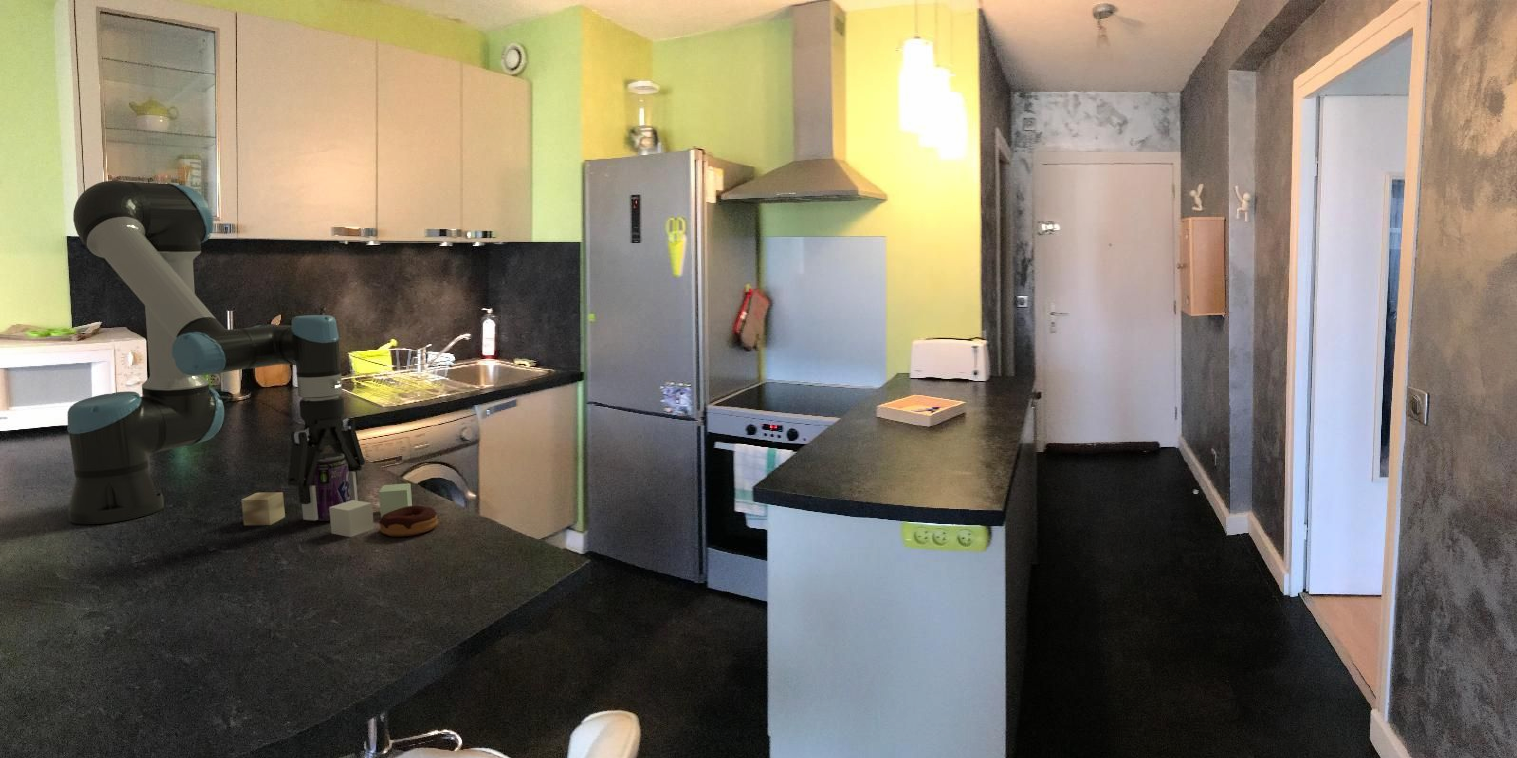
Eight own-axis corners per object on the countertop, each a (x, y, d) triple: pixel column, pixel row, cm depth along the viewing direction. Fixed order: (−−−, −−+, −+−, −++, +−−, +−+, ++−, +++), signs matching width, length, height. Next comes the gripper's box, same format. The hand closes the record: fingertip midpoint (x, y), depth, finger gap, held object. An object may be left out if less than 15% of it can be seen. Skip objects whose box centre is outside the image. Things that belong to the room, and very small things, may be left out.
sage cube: (380, 517, 166) (378, 492, 165) (385, 509, 171) (383, 485, 170) (408, 514, 167) (406, 489, 166) (412, 507, 172) (410, 483, 171)
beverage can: (335, 524, 162) (330, 461, 160) (302, 522, 163) (297, 460, 161) (360, 512, 168) (355, 453, 167) (328, 510, 170) (323, 451, 168)
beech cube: (244, 525, 161) (241, 500, 161) (259, 517, 166) (257, 492, 166) (270, 525, 161) (267, 499, 161) (285, 517, 166) (282, 492, 166)
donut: (425, 519, 165) (424, 499, 164) (448, 530, 158) (446, 509, 157) (371, 531, 158) (369, 510, 157) (393, 544, 151) (391, 522, 150)
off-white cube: (331, 533, 156) (329, 507, 155) (355, 525, 161) (352, 500, 160) (350, 537, 154) (348, 510, 153) (373, 529, 158) (371, 503, 158)
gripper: (290, 408, 151) (302, 531, 154) (378, 388, 172) (387, 496, 175) (256, 406, 153) (268, 527, 156) (347, 387, 174) (356, 494, 177)
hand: (331, 511), depth 166 cm, fingers open, 10 cm apart
